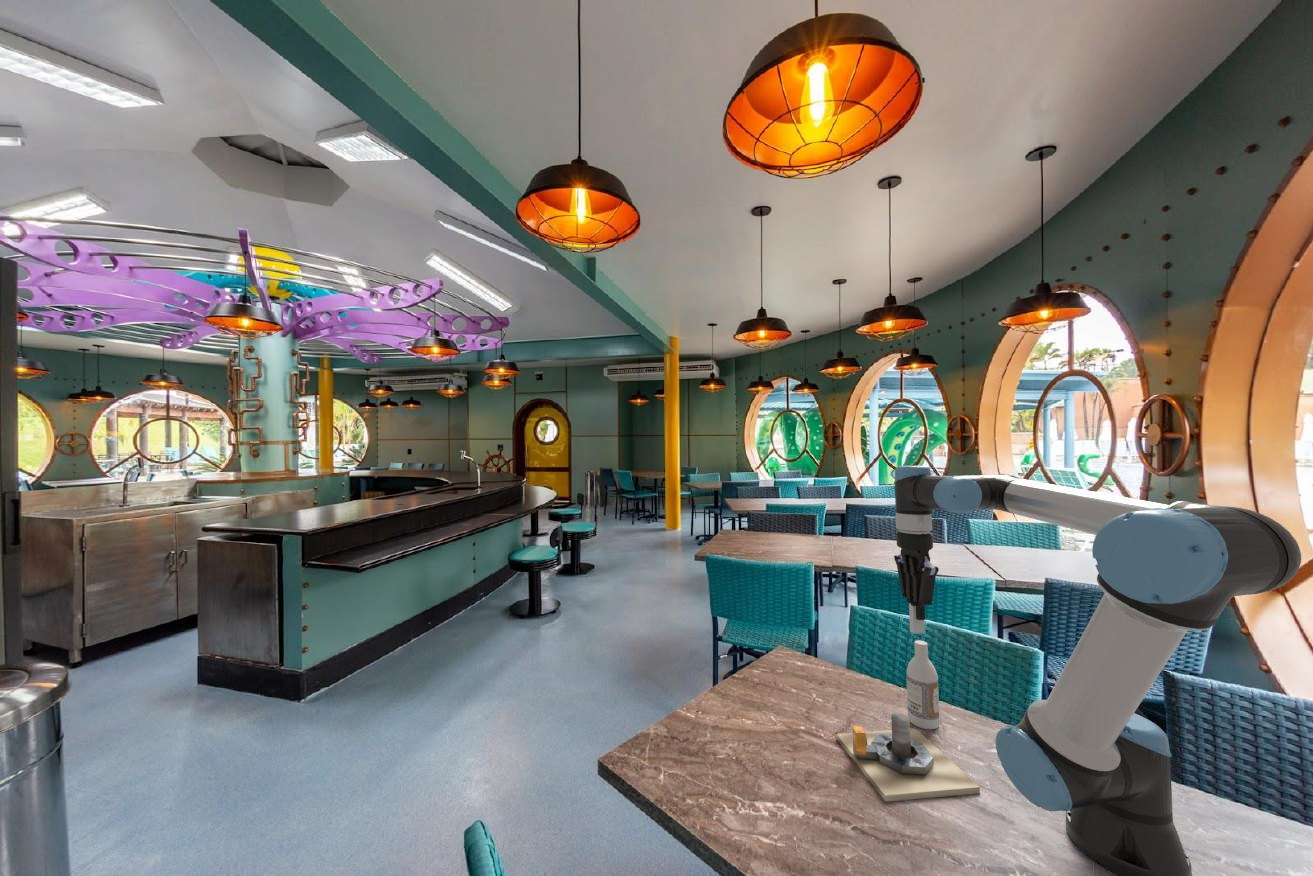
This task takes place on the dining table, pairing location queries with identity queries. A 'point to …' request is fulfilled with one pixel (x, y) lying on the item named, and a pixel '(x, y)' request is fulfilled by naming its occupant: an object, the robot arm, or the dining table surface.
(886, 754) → the flange
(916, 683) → the bath foam
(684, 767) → the dining table surface
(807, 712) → the dining table surface
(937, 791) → the post base
